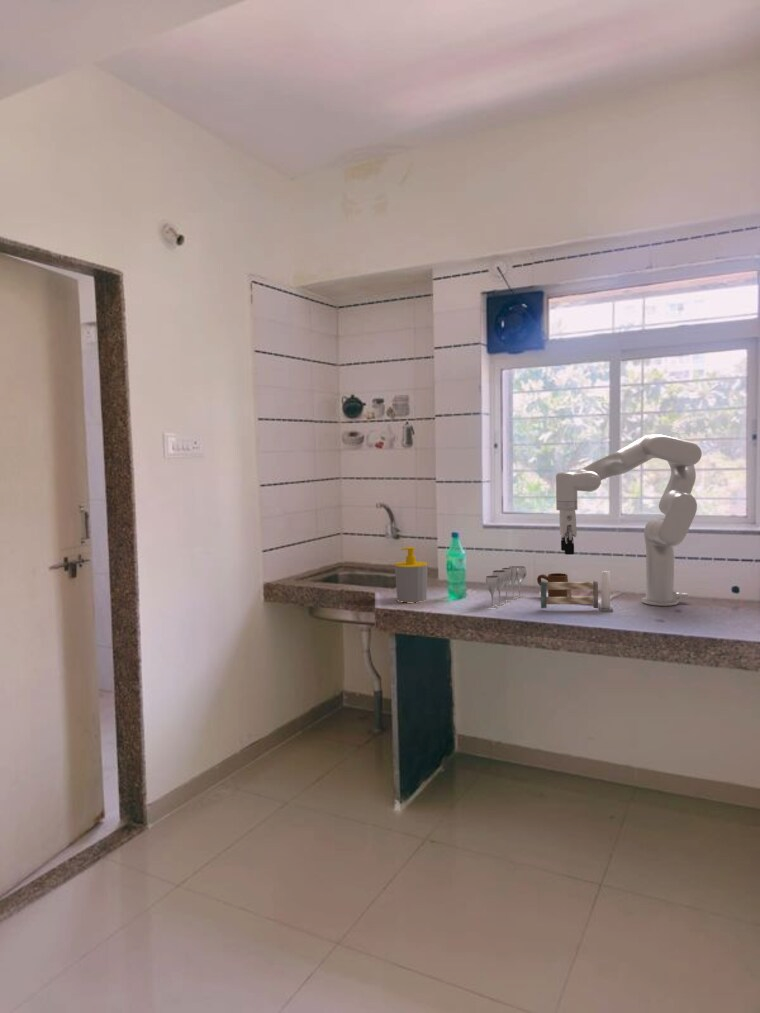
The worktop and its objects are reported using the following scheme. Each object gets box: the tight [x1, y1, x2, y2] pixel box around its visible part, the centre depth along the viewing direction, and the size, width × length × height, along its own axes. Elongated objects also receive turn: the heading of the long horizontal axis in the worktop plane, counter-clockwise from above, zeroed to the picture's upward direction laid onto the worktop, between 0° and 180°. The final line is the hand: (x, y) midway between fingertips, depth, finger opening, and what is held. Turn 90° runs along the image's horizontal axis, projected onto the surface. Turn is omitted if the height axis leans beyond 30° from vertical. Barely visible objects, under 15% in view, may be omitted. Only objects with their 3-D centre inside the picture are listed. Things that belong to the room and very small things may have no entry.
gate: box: [540, 580, 599, 609], centre depth 247 cm, size 20×2×10 cm, turn 83°
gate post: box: [598, 570, 614, 613], centre depth 245 cm, size 4×5×14 cm
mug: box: [536, 572, 569, 597], centre depth 268 cm, size 12×8×9 cm, turn 60°
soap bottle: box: [394, 546, 428, 602], centre depth 271 cm, size 13×13×21 cm
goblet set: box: [485, 565, 528, 608], centre depth 263 cm, size 28×6×13 cm, turn 143°
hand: (567, 552), depth 253 cm, fingers open, 8 cm apart
